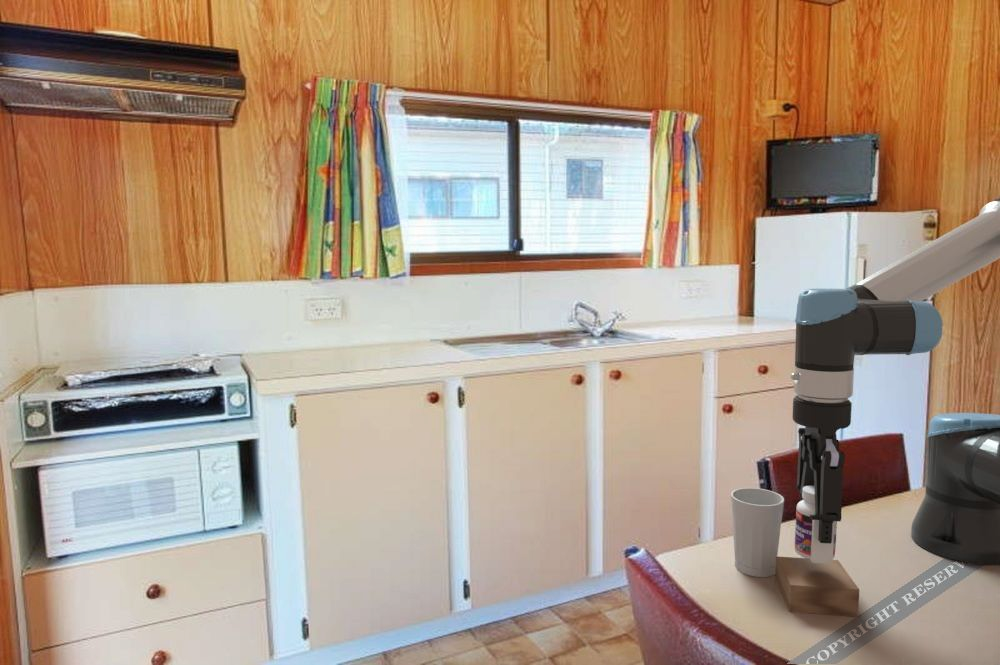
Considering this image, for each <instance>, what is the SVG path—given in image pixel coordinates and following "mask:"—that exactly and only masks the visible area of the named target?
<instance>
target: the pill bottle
mask: <svg viewBox="0 0 1000 665" xmlns="http://www.w3.org/2000/svg"><path fill="white" fill-rule="evenodd" d="M802 498H803V499H804V500H803V499H801V500H800V501H799V502H798V503H797V504H796V512H795V531H794V551H795V553H796V554H798V555H799V556H800V557H801V558H807V559H810V560H811V542H812V520H811V519H810V515H815V491H814V486H805V487H803V489H802ZM837 524H838V521H835V525H834V546H833V559H834V558H835V556H836V547H837V544H836V543H837V528H838V527H837Z"/></svg>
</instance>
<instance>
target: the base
mask: <svg viewBox="0 0 1000 665" xmlns="http://www.w3.org/2000/svg"><path fill="white" fill-rule="evenodd" d="M774 576H775V577H774V582H775V584H776V586H777V588H778V591H780V594H781V597H782V598H783V600H784V603H785V605H786V607H787V608H788V609H787V610H788V611H789V612H790V613H801V614H802V613H803V614H805V613H806V614H816V615H817V614H818V615H830V616H831V615H832V616H842V617H843V616H844V617H856V618H857V617H859V609H860V608H859V607H860V606H859V605H860V588H859V587H858V585H857V584H856V583H855V582H854V580H853V579H852V577H851V575H849V572H848V571H846V569H845V568H844V566H843V565H842V564H841V562H840V561H839V560H838V559H833V564H828V563H813V562H812V561H811V560H810V559H807V558H804V557H792V556H791V557H789V556H778V555H777V556H776V566H775V574H774Z"/></svg>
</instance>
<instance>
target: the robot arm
mask: <svg viewBox="0 0 1000 665" xmlns="http://www.w3.org/2000/svg"><path fill="white" fill-rule="evenodd" d="M978 214H979V215H978V216H975V217H974V218H972V219H970V220H969V221H967V222H965V223H963V224H961V225H959V226H958V227H956V228H954V229H953V230H950V231H948V232H947V233H945V234H943V235H942V236H940V237H938V238H935V239H934V240H932V241H930V242H929V243H927V244H925V245H924V246H922V247H919V248H918V249H915V250H914V251H913V252H911V253H909V254H907V255H905V256H904V257H902V258H900V259H898V260H896V261H895V262H893V263H891V264H889V265H887V266H885V267H884V268H882V269H880V270H878V271H877V272H875V273H873V274H871V275H869V276H868V277H865V278H863V279H862V280H860V281H858V282H857V283H855V284H852V285H851V286H849V287H847V288H807V289H803V290H802V291H801V292H800V293H799V295H798V300H797V304H796V315H795V319H794V322H795V344H794V345H795V346H794V347H795V348H794V373H791V374H790V375H789V376H790V380H793V392H794V393H795V394H796V395H795V396H794V397H793V399H792V420H793V421H794V423H795V424H797V425H799V426H803V427H799V428H798V430H797V432H798V454H797V455H798V458H797V473H796V474H797V478H796V490H797V491H798V492H799V498H800V500H804V499H803V498H802V489H803V487H805V486H814V491H815V515H810V519H811V520H812V542H811V561H812V562H813V563H828V564H833V560H834V558H833V546H834V525H835V521H837V522H841V521H842V517H843V516H842V506H843V504H842V503H843V480H844V478H843V477H844V475H843V474H844V466H845V465H844V464H845V460H846V454H845V452H844V451H841V450H840V441H839V439H838V438H837V432H838V431H839V430H840V429H841V430H843V429H846V428H848V427H850V426H851V423H852V403H853V402H851V401H850V398H852V397H853V395H854V374H855V373H854V372H855V371H854V369H855V368H854V364H855V356H864V355H906V356H911V355H913V354H926V353H928V352H930V351H932V350H934V349H935V348H936V347H937V346H938V344H939V343H940V341H941V338H942V336H943V326H944V323H943V319H942V315H941V313H940V312H939V310H938V309H937V308H936V307H935V306H934V305H933V304H931V303H929V302H927V301H924V300H926V299H928V298H930V297H932V296H934V295H935V294H938V293H939V292H941V291H942V290H944V289H946V288H948V287H950V286H952V285H953V284H955V283H958V282H960V281H961V280H962V279H964V278H966V277H968V276H971V275H972V274H974V273H975V272H977V271H979V270H981V269H983V268H985V267H986V266H988V265H990V264H992V263H994V262H995V261H996V262H997V261H998V260H999V259H1000V196H999V197H997V198H995V199H994V200H992V201H990V202H988V203H986V204H985V205H984V206H982V208H981V209H980V211H979V213H978ZM926 436H927V437H926V438H927V445H926V446H927V447H926V448H927V449H926V475H925V476H926V477H925V490H924V491H925V495H924V497H923V499H922V502H921V504H920V505H919V507H918V509H917V511H916V514H915V516H914V518H913V520H912V523H911V532H910V536H911V539H912V540H913V541H914V543H916V544H917V545H918V546H920V547H921V548H923V549H925V550H927V551H928V552H931V553H933V554H936V555H939V556H941V557H945V558H949V559H951V560H955V561H960V562H964V563H971V564H977V565H989V566H995V565H996V566H997V565H1000V414H994V413H993V414H992V413H982V412H981V413H980V412H977V413H976V412H946V413H940V414H936V415H935V416H933V417H932V418H931V420H930V421H929V429H928V434H927V435H926Z"/></svg>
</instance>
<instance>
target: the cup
mask: <svg viewBox="0 0 1000 665" xmlns="http://www.w3.org/2000/svg"><path fill="white" fill-rule="evenodd" d="M730 499H731V501H730V502H731V511H732V512H731V513H732V529H733V530H732V531H733V532H732V533H733V546H734V547H733V548H734V549H733V550H734V567H735V569H736V568H737V569H738V570H737V569H736V570H737V571H739V572H740V571H741V572H740V573H742V574H744V575H748V576H751V577H752V576H753V577H758V578H767V577H772V576H775V566H776V556H777V557H778V554H779V546H780V545H779V544H780V536H781V526H782V520H783V513H784V507H785V506H784V505H785V498H784V496H783V495H782V494H779V493H777V492H776V491H772V490H769V489H765V488H759V487H745V488H744V487H742V488H741V487H740V488H737V489H734V490H733V491H732V492H730Z"/></svg>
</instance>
